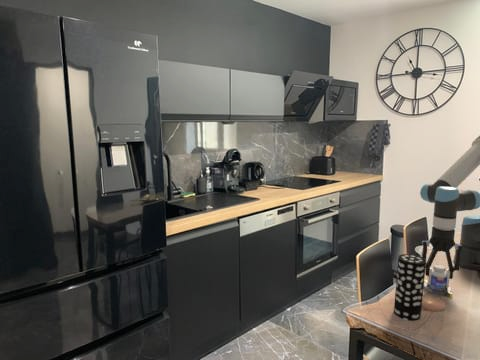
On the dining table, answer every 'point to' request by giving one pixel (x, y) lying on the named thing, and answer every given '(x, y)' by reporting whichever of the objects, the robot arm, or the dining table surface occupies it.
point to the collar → (437, 292)
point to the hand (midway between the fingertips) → (437, 284)
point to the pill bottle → (438, 278)
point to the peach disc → (432, 303)
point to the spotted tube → (409, 287)
